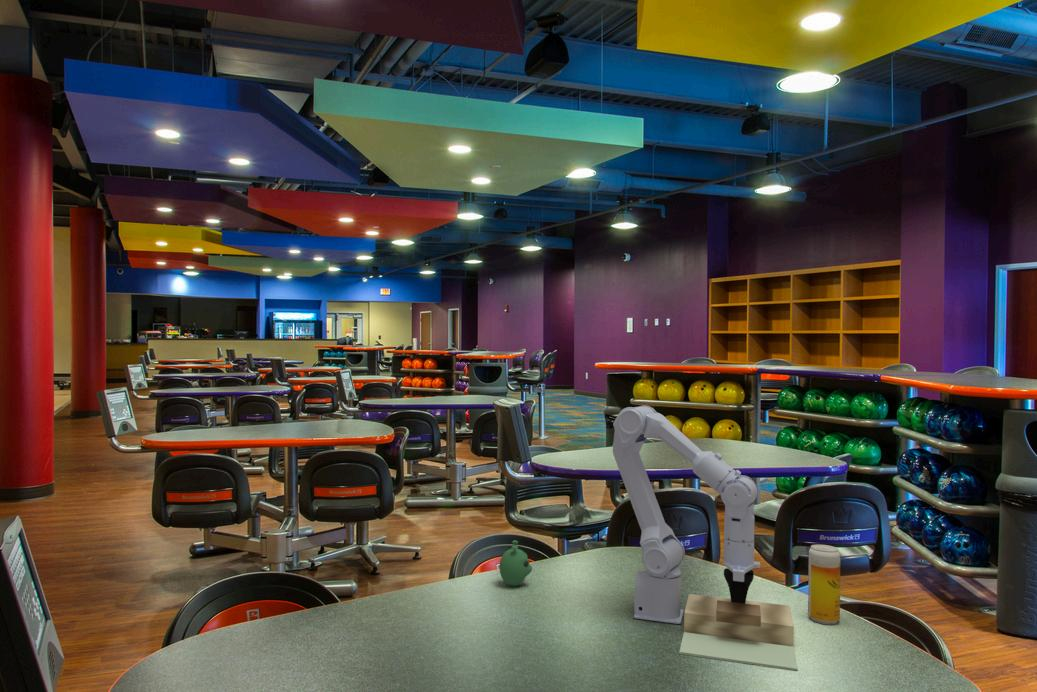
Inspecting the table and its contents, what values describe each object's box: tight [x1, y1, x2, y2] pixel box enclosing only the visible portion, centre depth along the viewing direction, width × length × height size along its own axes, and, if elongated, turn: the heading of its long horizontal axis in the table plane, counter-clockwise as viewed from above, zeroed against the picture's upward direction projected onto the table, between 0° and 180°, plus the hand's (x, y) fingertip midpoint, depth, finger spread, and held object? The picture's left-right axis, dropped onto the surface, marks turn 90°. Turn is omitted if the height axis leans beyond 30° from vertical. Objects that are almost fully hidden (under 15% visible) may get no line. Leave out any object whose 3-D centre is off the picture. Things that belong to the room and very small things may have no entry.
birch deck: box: [683, 593, 795, 647], centre depth 140 cm, size 20×12×4 cm, turn 72°
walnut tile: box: [716, 600, 761, 627], centre depth 135 cm, size 8×6×2 cm
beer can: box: [807, 544, 841, 625], centre depth 147 cm, size 6×6×15 cm
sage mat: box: [678, 631, 798, 672], centre depth 129 cm, size 20×10×1 cm, turn 72°
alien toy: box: [499, 539, 533, 587], centre depth 165 cm, size 7×8×10 cm
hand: (738, 607), depth 139 cm, fingers closed
